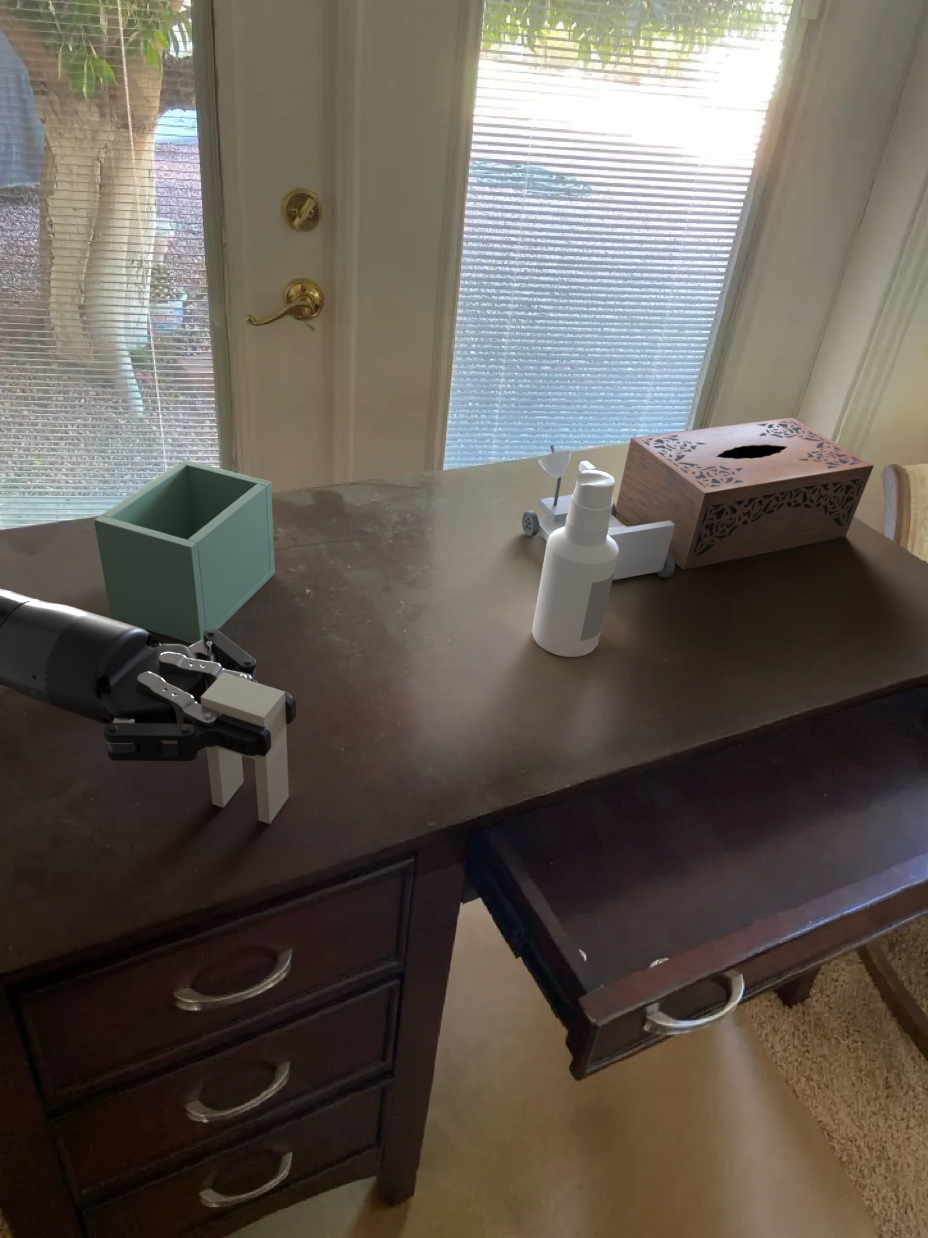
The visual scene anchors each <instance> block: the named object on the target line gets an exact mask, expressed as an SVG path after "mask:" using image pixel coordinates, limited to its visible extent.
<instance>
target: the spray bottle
mask: <svg viewBox="0 0 928 1238" xmlns="http://www.w3.org/2000/svg"><path fill="white" fill-rule="evenodd" d="M615 484H616V480H615V478H614V477H613V476H612V475H611V474H609V473H608V472H604V471H601V470H586V471H582V472H581V471H580V472H579V473H578V474H577V476H576V482H575V487H574V489H573V493H572V494H571V495H572V496H571V500H570V506H569V511H568V515H567V518H566V523H565V527H562V528H560V529H557V530H555V531H554V532H553V533H552V534H551V535H550V536H549V538H548V541H546V545H545V552H544V559H543V564H542V569H541V575H540V581H539V586H538V587H539V588H538V593H537V599H536V605H535V611H534V617H533V623H532V628H531V632H532V636H533V639H534V641H535V642H536V644H537V645H538V646H539V647H541V648H542V649H543V650H545V651H546V652H548V653H551V654H553V655H555V656H561V657H565V658H577V657H583V656H586V655H589V654H590V653H592V652H593V651H594V650H595V649H596V648H597V646H598V645H599V641H600V637H601V634H602V633H601V632H602V628H603V625H604V620H605V615H606V610H607V606H608V602H609V598H610V592H611V589H612V584H613V581H614V580H613V576H614V571H615V567H616V563H617V558H618V552H619V549H618V546H617V544H616V542H615V541H614V540H613V539H612V538H611V537H610V536H609V535H607V534H608V529H609V524H610V523H609V520H610V515H611V511H612V506H613V503H614V501H613V494H614V488H615Z"/></svg>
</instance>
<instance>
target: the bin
mask: <svg viewBox="0 0 928 1238" xmlns="http://www.w3.org/2000/svg"><path fill="white" fill-rule="evenodd" d="M272 495H273V494H272V481H269V480H266V479H261V478H258V477H254V476H249V475H247V474H242V473H239V472H235V471H231V470H227V469H224V468H219V467H215V466H211V465H208V464H203V463H200V462H196V461H192V460H188V459H184V458H183V459H182V460H180V461H179V462H178V463H176V464H174V465H173V466H171V468H169V469H167V470H166V471H164V472H163V473H161V474H160V475H158V476H157V477H155V478H154V479H153V480H151V481H149V482H148V483H146V484H145V485H143V486H142V487H141V488H139V489H138V490H136V491H134V492H133V493H131V494H130V495H129V496H127V497H126V498H124V499H123V500H121V501H119V502H118V503H117V504H115V505H114V506H112V507H111V508H110V509H108V510H107V511H105V512H103V513H102V514H101V515H99V516H98V517H96V518H95V519H93V523H94V529H95V535H96V541H97V545H98V551H99V556H100V563H101V568H102V574H103V579H104V587H105V591H106V597H107V602H108V607H109V608H108V609H109V612H110V613H109V614H110V619H113V620H117V621H120V622H123V623H126V624H130V625H133V626H136V627H139V628H142V629H144V630H146V631H148V632H149V631H150V632H153V633H156V634H160V635H162V636H165V637H169V638H171V639H176V640H179V641H182V642H184V643H187V644H191V645H193V644H195V643H198V642H200V641H202V640H204V639H203V632H204V631H205V630H206V629H209V628H214V629H217V630H218V631H219V630H220V629H221V628H222V627H223V626H224V625H225V624H226V623H227V622H228V621H229V620H230V619H231V618H232V617H233V616H234V615H235V614H236V613H237V612H238V611H239V610H240V609H241V608H242V607H243V606H244V605H246V603H247V602H248V601H249V600H250V599H251V598H252V597H253V596H254V595H255V594H256V593H257V592H258V591H259V590H260V589H261V588H262V587H263V586H264V585H265V584H266V583H267V582H268V581H269V580H270V579H271V578H272V577H273V576H274V575H275V574H276V572H275V571H276V569H275V567H276V565H275V546H274V542H275V541H274V521H273V519H274V518H273V499H272Z"/></svg>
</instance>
